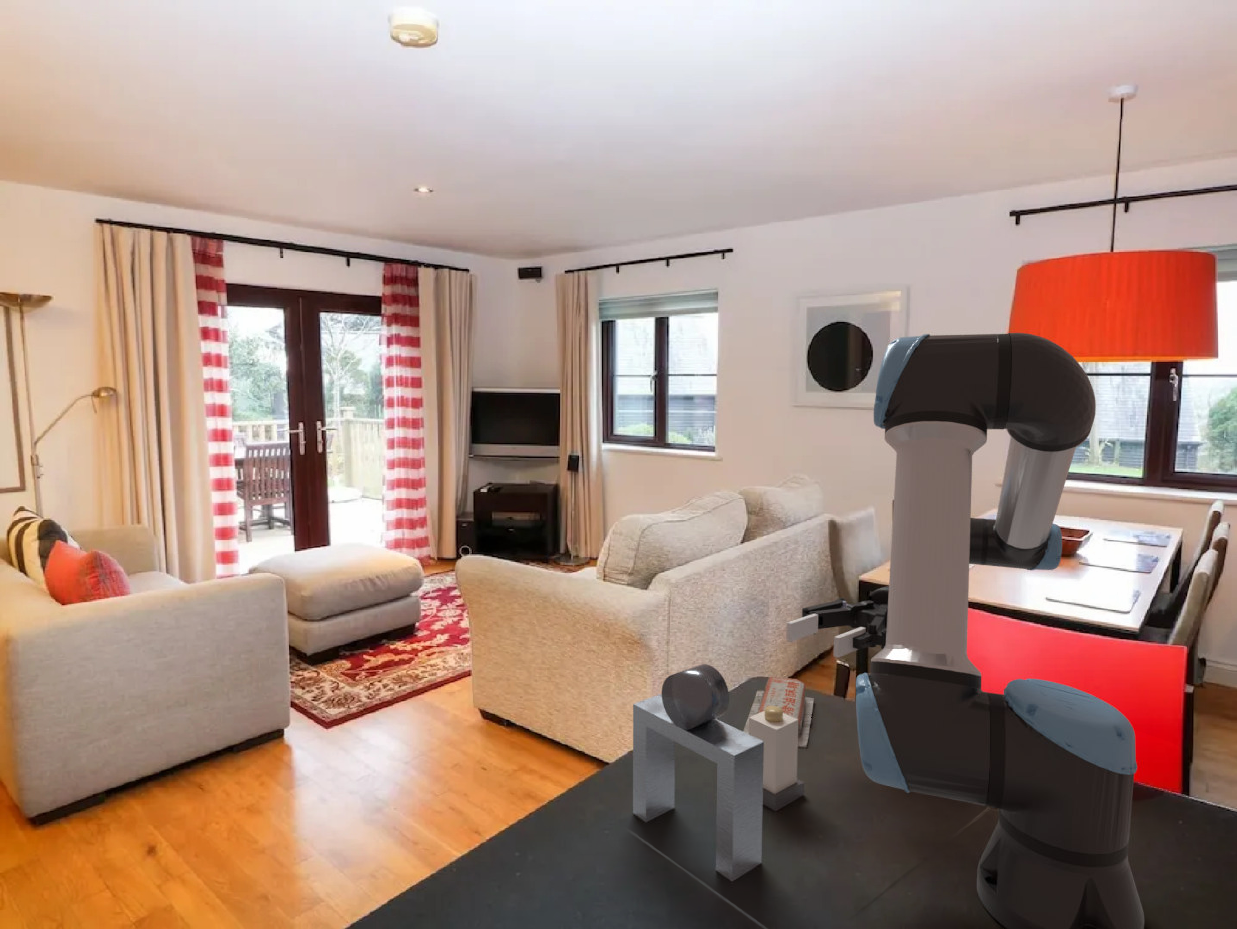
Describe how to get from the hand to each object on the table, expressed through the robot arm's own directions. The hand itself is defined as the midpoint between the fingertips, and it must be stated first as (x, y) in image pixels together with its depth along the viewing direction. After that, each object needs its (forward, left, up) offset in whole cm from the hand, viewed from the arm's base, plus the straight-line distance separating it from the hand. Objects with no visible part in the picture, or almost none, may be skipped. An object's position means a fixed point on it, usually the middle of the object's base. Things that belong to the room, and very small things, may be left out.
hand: (811, 639), depth 102 cm
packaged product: (+14, -11, -21) cm, 27 cm away
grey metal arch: (0, +23, -20) cm, 31 cm away
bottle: (0, +8, -20) cm, 21 cm away
